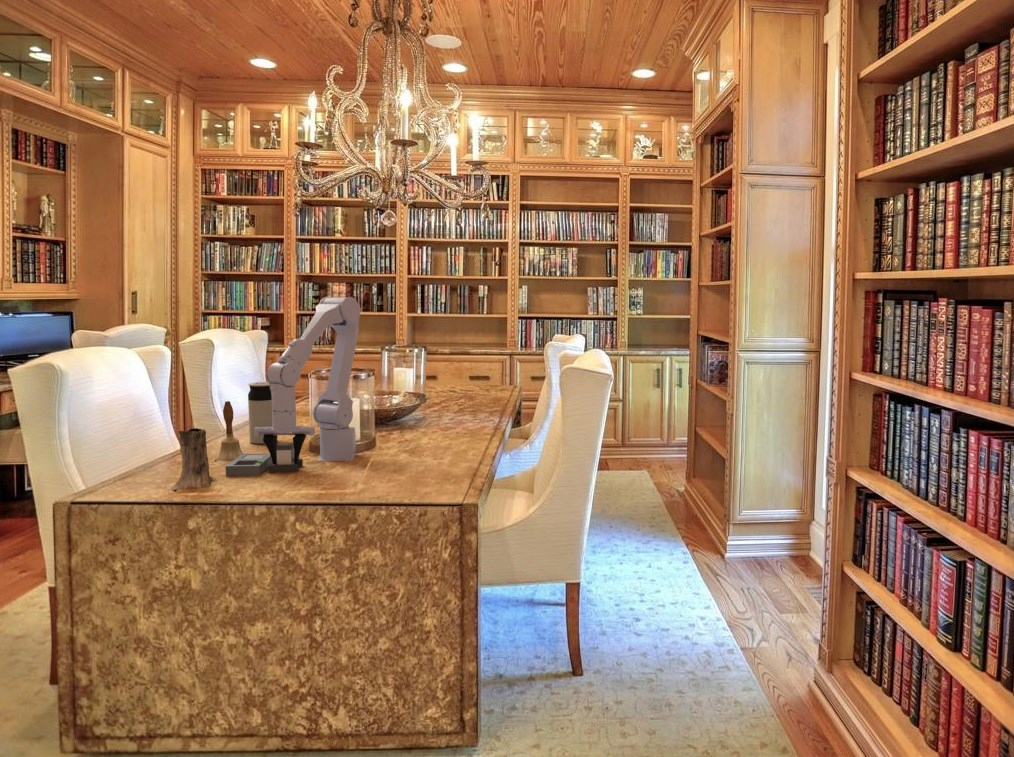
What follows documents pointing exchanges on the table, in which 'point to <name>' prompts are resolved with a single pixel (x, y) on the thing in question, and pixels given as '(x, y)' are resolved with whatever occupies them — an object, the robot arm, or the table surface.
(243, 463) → the port panel
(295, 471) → the dark grey bracket
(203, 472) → the tree stump
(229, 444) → the hand bell
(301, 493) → the table surface
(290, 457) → the plug
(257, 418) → the travel mug
